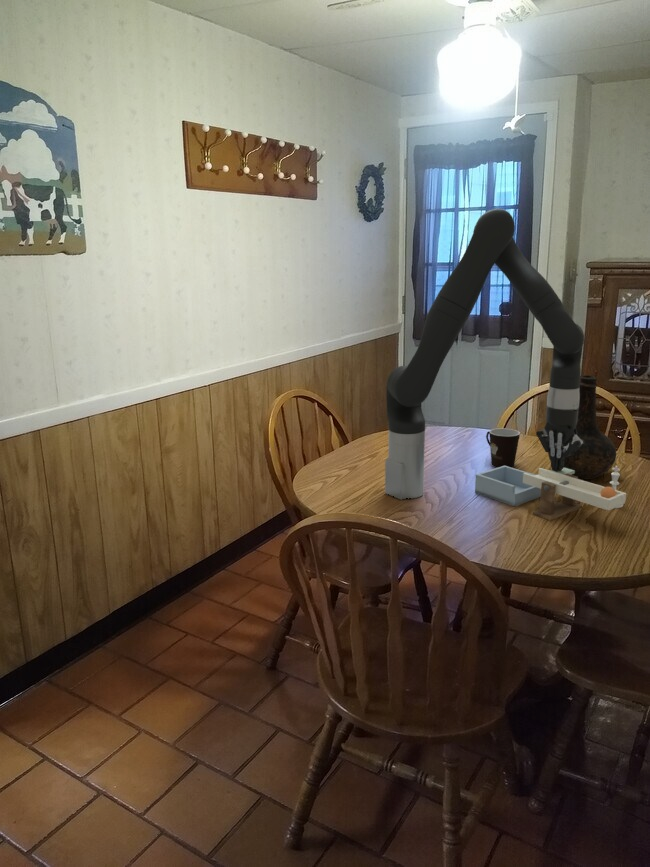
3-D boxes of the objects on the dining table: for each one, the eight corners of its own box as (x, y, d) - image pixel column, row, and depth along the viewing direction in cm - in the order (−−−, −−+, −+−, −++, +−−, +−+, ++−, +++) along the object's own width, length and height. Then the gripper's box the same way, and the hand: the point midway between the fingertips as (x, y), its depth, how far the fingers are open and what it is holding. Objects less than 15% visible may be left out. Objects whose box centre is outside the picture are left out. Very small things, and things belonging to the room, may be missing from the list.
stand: (582, 507, 163) (585, 476, 161) (550, 520, 155) (552, 488, 153) (564, 501, 167) (566, 471, 164) (532, 514, 159) (534, 482, 157)
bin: (514, 506, 164) (515, 487, 163) (474, 492, 174) (475, 474, 172) (543, 495, 171) (544, 477, 169) (503, 482, 180) (504, 465, 179)
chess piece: (605, 499, 168) (609, 461, 165) (625, 503, 165) (630, 465, 162) (598, 505, 164) (602, 466, 161) (619, 509, 161) (623, 470, 158)
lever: (645, 494, 155) (647, 484, 155) (608, 510, 146) (609, 500, 145) (560, 469, 173) (561, 460, 172) (522, 482, 164) (523, 473, 163)
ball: (612, 502, 147) (610, 488, 147) (598, 502, 150) (596, 488, 150) (619, 499, 149) (617, 485, 149) (606, 498, 152) (604, 485, 151)
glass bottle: (600, 464, 195) (609, 369, 187) (624, 485, 177) (636, 382, 170) (538, 464, 195) (545, 370, 188) (557, 485, 178) (565, 382, 171)
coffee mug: (521, 469, 191) (523, 436, 188) (491, 469, 191) (492, 436, 188) (511, 457, 202) (513, 425, 199) (482, 457, 202) (484, 425, 200)
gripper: (530, 402, 168) (526, 466, 173) (577, 411, 158) (571, 480, 163) (548, 397, 172) (543, 461, 177) (595, 407, 162) (588, 474, 167)
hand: (557, 470), depth 170 cm, fingers closed
